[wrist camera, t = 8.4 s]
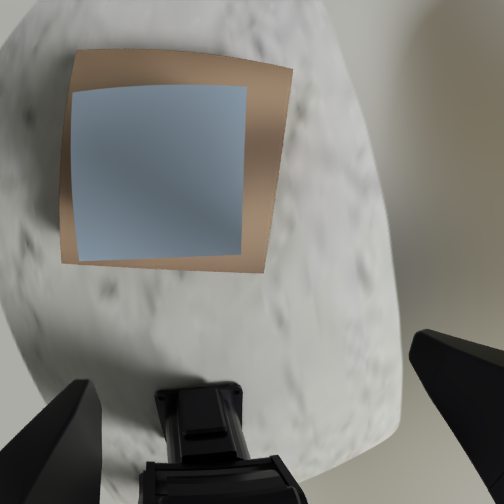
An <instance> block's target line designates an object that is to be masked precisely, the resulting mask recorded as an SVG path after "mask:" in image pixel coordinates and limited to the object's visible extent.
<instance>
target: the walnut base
mask: <svg viewBox="0 0 504 504" xmlns="http://www.w3.org/2000/svg"><path fill="white" fill-rule="evenodd" d="M292 74H293V69H291V68H286V67H282V66H277V65H272V64H268V63H262V62H257V61H252V60H246V59H240V58H234V57H227V56H220V55H212V54H204V53H195V52H184V51H171V50H153V49H94V50H76V55H75V59H74V64H73V69H72V74H71V80H70V85H69V91H68V98H67V104H66V112H65V120H64V129H63V139H62V151H61V166H60V197H59V214H60V245H61V261H62V263H64V264H79V265H95V266H112V267H130V268H148V269H168V270H190V271H213V272H238V273H264V268H265V262H266V255H267V249H268V242H269V236H270V229H271V222H272V216H273V209H274V202H275V195H276V189H277V182H278V175H279V168H280V161H281V154H282V147H283V140H284V133H285V125H286V118H287V111H288V104H289V96H290V89H291V81H292ZM146 85H226V86H244V87H247V97H246V121H245V148H244V176H243V206H242V238H241V255H224V256H200V257H175V258H151V259H126V260H100V261H79V256H78V249H77V241H76V232H75V222H74V211H73V198H72V180H71V112H72V95H73V92H80V91H88V90H96V89H106V88H116V87H129V86H146Z"/></svg>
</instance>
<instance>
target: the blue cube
mask: <svg viewBox="0 0 504 504" xmlns="http://www.w3.org/2000/svg"><path fill="white" fill-rule="evenodd" d="M246 97H247V87H244V86H226V85H146V86H129V87H116V88H106V89H96V90H88V91H80V92H73V95H72V112H71V180H72V198H73V211H74V222H75V232H76V241H77V249H78V256H79V261H100V260H126V259H151V258H175V257H200V256H224V255H241V238H242V206H243V176H244V148H245V121H246Z"/></svg>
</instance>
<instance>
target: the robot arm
mask: <svg viewBox="0 0 504 504" xmlns="http://www.w3.org/2000/svg"><path fill="white" fill-rule="evenodd" d="M409 360H410V363H411V364H412V366H413V368H414V370H415V372H416V373H417V375H418V377H419V379H420V381H421V382H422V384H423V386H424V388H425V390H426V392H427V393H428V395H429V397H430V398H431V400H432V402H433V403H434V405H435V406H436V408H437V409H438V411H439V412H440V414H441V415H442V417H443V418H444V420H445V421H446V423H447V424H448V426H449V427H450V429H451V430H452V432H453V433H454V435H455V437H456V438H457V440H458V441H459V443H460V444H461V446H462V448H463V449H464V451H465V452H466V454H467V455H468V457H469V459H470V460H471V462H472V464H473V465H474V467H475V469H476V470H477V472H478V474H479V475H480V477H481V479H482V480H483V482H484V484H485V485H486V487H487V489H488V491H489V493H490V495H491V496H492V498H493V500H494V502H495V503H496V504H504V351H503V350H499V349H495V348H492V347H489V346H485V345H481V344H477V343H475V342H471V341H467V340H464V339H461V338H457V337H453V336H450V335H447V334H443V333H440V332H437V331H433V330H430V329H424V330H420V331H418V332H416V333H415V335H414V337H413V341H412V344H411V347H410V351H409ZM234 390H237V391H234ZM160 396H163V397H160ZM242 399H243V391H242V388H241V386H240V385H238V384H232V385H223V386H213V387H202V388H189V389H173V390H159V391H157V392H156V393H155V401H156V405H157V409H158V414H159V418H160V422H161V425H162V429H163V433H164V437H165V440H166V443H167V456H168V463H155V462H146V471H143V473H142V474H140V475H139V501H138V504H308V502H307V499H306V497H305V495H304V492H303V491H302V489H301V488H300V486H299V485H298V483H297V482H296V480H295V479H294V478H293V476H292V475H291V473H290V472H289V470H288V469H287V467H286V466H285V464H284V463H283V461H282V460H281V458H280V457H279V455H272V456H270V457H266V458H258V459H251V458H250V455H249V452H248V449H247V445H246V442H245V439H244V435H243V432H242ZM101 471H102V409H101V403H100V400H99V398H98V395H97V393H96V390H95V387H94V385H93V382H92V381H91V380H90V379H75V380H73V381H72V382H71V383H70V384H69V385H68V386H67V387H66V388H65V389H64V390H63V391H62V392H61V393H59V394H58V395H57V396H56V397H55V398H54V399H53V400H52V401H51V402H50V403H49V404H48V405H47V406H46V407H45V408H44V409H43V410H42V411H41V412H40V413H39V414H37V416H35V417H34V418H33V419H32V420H31V421H30V422H29V423H28V424H27V425H26V426H25V427H24V428H23V429H22V430H21V431H20V432H19V433H18V434H17V435H16V436H15V437H14V438H13V439H12V440H11V441H10V442H9V443H8V444H7V445H6V446H5V447H4V448H3V449H2V450H1V451H0V504H100V503H99V502H100V485H101Z"/></svg>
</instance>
